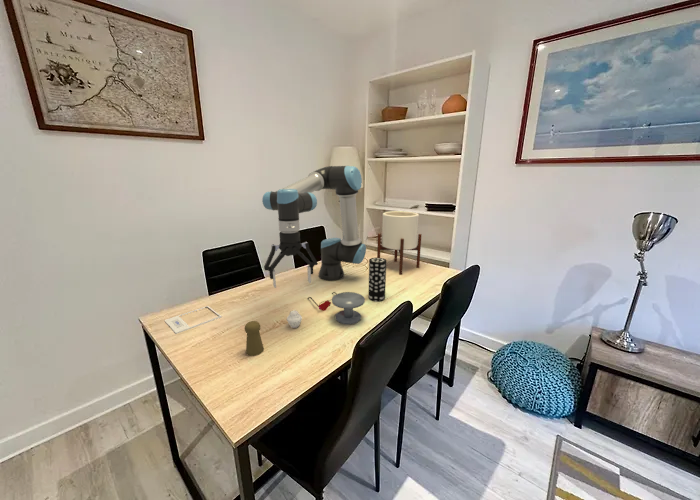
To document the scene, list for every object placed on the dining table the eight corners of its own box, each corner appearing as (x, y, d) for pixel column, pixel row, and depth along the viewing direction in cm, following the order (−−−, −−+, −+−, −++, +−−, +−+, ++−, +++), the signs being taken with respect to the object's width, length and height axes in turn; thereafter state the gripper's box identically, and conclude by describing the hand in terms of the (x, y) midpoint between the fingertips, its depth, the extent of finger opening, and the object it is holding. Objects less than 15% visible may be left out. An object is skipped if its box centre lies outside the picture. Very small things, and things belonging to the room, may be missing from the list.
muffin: (289, 321, 120) (288, 306, 118) (304, 322, 120) (303, 307, 118) (285, 329, 114) (284, 314, 112) (300, 330, 114) (299, 314, 112)
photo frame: (164, 319, 121) (208, 305, 133) (164, 321, 121) (208, 307, 134) (175, 332, 111) (221, 315, 124) (176, 334, 111) (222, 318, 124)
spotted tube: (384, 302, 138) (385, 263, 132) (367, 300, 139) (368, 262, 134) (385, 295, 146) (387, 258, 140) (369, 293, 147) (370, 257, 142)
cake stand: (328, 313, 128) (328, 294, 125) (357, 308, 132) (357, 290, 130) (337, 328, 115) (337, 308, 112) (369, 322, 119) (369, 303, 117)
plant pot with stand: (374, 267, 188) (375, 213, 179) (395, 260, 203) (397, 210, 193) (401, 276, 172) (404, 217, 163) (422, 267, 187) (426, 213, 177)
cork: (248, 346, 103) (245, 319, 101) (265, 345, 104) (262, 318, 101) (243, 356, 98) (240, 328, 95) (261, 355, 98) (259, 327, 95)
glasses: (319, 313, 128) (318, 303, 127) (307, 299, 142) (306, 290, 141) (346, 306, 134) (346, 297, 133) (332, 293, 148) (332, 285, 147)
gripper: (254, 235, 99) (259, 292, 104) (324, 230, 107) (325, 283, 112) (254, 231, 106) (258, 284, 111) (319, 227, 114) (321, 277, 119)
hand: (292, 284), depth 112 cm, fingers open, 13 cm apart
